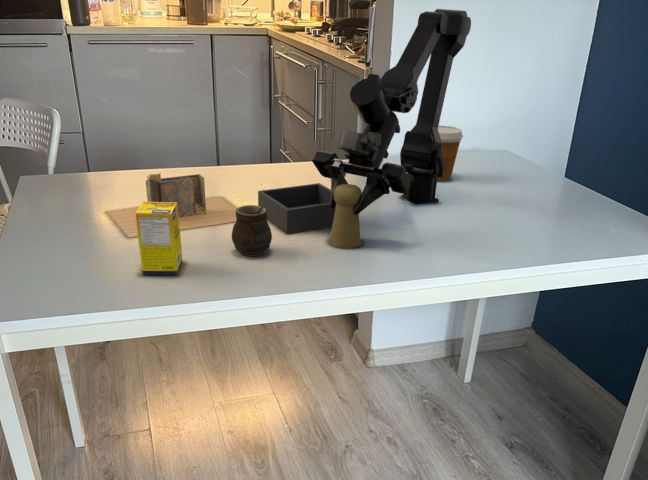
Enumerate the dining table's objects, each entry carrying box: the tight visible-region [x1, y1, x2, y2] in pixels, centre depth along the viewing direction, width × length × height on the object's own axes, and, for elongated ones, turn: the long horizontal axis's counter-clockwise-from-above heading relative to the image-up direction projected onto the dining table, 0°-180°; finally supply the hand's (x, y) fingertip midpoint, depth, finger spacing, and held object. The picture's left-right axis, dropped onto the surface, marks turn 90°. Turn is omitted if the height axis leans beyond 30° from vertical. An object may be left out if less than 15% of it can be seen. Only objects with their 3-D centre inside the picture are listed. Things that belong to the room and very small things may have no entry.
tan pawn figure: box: [329, 183, 362, 249], centre depth 126 cm, size 6×6×11 cm
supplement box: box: [136, 201, 183, 276], centre depth 112 cm, size 6×6×11 cm
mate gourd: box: [231, 204, 273, 257], centre depth 120 cm, size 7×8×10 cm
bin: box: [257, 182, 336, 235], centre depth 139 cm, size 15×14×5 cm
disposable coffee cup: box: [437, 125, 464, 182], centre depth 166 cm, size 10×10×12 cm
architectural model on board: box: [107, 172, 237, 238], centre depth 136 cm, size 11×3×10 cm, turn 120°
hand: (343, 210), depth 124 cm, fingers closed on tan pawn figure, 5 cm apart
